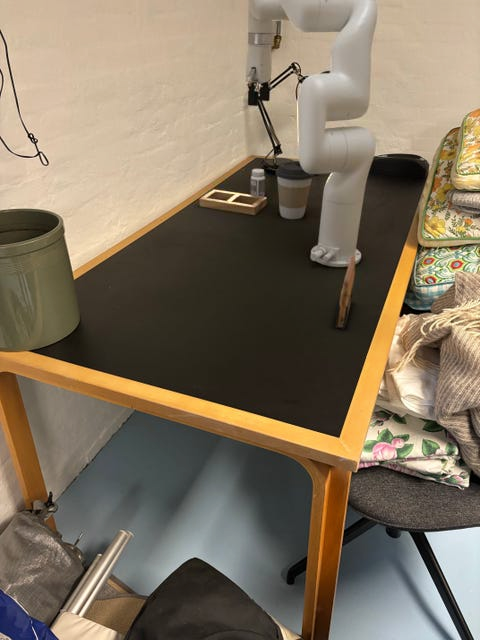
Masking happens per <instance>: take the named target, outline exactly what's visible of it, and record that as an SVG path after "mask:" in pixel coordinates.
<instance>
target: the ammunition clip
mask: <svg viewBox="0 0 480 640" xmlns="http://www.w3.org/2000/svg"><path fill="white" fill-rule="evenodd" d="M355 270H356V264H355V255H354V254H353V255H352V256H351V259H350V262H349V266H348V267H347V269H346V273H345V276H344V280H343V284H342V289H341V291H340V297H339V302H338V307H337V312H336V313H337V314H336V321H335V328H336V329H341V330H346V325H347V322H348V318H349V315H350V309H351V304H352V300H353V293H354V288H355V287H354V286H355V274H356V272H355Z"/></svg>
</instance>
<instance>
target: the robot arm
mask: <svg viewBox="0 0 480 640" xmlns="http://www.w3.org/2000/svg"><path fill="white" fill-rule="evenodd" d="M377 5H378V4H377V1H376V0H248V10H247V11H248V14H247V16H248V19H247V21H248V22H247V46H248V47H247V54H246V64H245V65H246V67H245V82H246V84H247V85H246V86H247V106H250V107H251V106H252V107H259V101H261V102H269V101H270V99H271V98H270V97H271V80H272V67H273V66H272V65H273V63H272V59H273V58H272V57H273V56H272V55H273V54H272V47H274V39H275V22H290V24H291V26H292V27H293V28H294V29H295V30H297V31H298V32H301V33H338V34H337V36H336V38H335V40H334V41H333V44H332V46H331V49H330V57H329V59H330V65H329V67H330V69H329V72H328V73H315V74H311V75H308V76H307V77H306V78H305V79H304V80H303V81H302V82H301V85H300V87H299V90H298V94H297V103H296V106H297V107H296V114H297V115H296V117H297V120H296V121H297V123H296V124H297V155H298V162H300V165H301V167H302V169H303V170H304V171H305V172H306V173H309V174H314V175H322V174H329V176H328V178H327V179H326V181H325V184H324V187H323V193H322V201H321V211H320V220H319V221H320V222H319V231H318V241H317V245H314V246H313V247H312V248H311V250H310V257H309V258H310V260H311V261H313V262H317V263H319V264H321V265H323V266H328V267H331V268H332V267H333V268H348V266H349V262H350V259H351V256H352V255H353V254H354V255H355V265H357V264H359V263H360V262H361V259H362V253H361V251H359V249H357V242H358V236H359V230H360V224H361V217H362V210H363V204H364V199H365V193H366V192H365V191H366V185H367V180H368V176H369V173H370V169H371V166H372V164H373V161H374V158H375V154H376V150H377V149H376V148H377V145H376V139H375V136H374V134H373V133H372V132H371V131H370V130H369V129H368V128H365V127H363V126H358V125H356V126H355V125H354V126H352V125H351V126H337V127H336V126H335V127H327V128H326V124H327V123H328V122H338V121H339V122H342V121H350V120H356V119H357V120H358V119H360V118H362V117H363V116H365V114H366V113H367V112H368V110H369V106H370V100H371V99H370V98H371V73H372V47H373V46H372V45H373V42H374V41H373V40H374V35H375V32H376V28H377V27H376V26H377V20H378V6H377ZM258 90H259V91H258Z"/></svg>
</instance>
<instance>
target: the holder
mask: <svg viewBox="0 0 480 640" xmlns="http://www.w3.org/2000/svg"><path fill="white" fill-rule="evenodd" d="M198 200H199V201H198V202H199V207H201V208H206V209H207V208H208V209H214V210H220V211H226V212H232V213H239V214H243V215H244V214H245V215H251V216H256V215H257V214H258V213H259V212H260V211H261V210H262V209H264V208H265V207H266V206H267V200H268V198H267V197H266V196H263V197H261V196H254V195H251V194H247V193H240V192H234V191H227V190H219V189H212V190H210V191H209V192H207V193H206V194H204V195H203V196H201V197H199V199H198Z"/></svg>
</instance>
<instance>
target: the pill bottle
mask: <svg viewBox="0 0 480 640" xmlns="http://www.w3.org/2000/svg"><path fill="white" fill-rule="evenodd" d="M265 189H266V176H265V170H264V169H263V168H253V169H252V170H251V176H250V195H254V196H261V197H265V193H266V192H265V191H266V190H265Z"/></svg>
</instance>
